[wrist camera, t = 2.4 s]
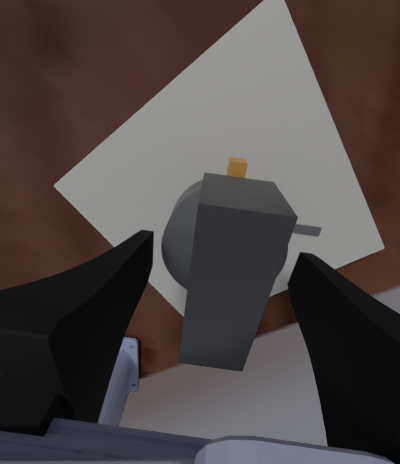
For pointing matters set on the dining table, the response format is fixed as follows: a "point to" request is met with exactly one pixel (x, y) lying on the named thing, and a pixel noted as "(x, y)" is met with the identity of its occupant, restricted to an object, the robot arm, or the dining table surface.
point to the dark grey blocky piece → (226, 261)
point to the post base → (231, 150)
